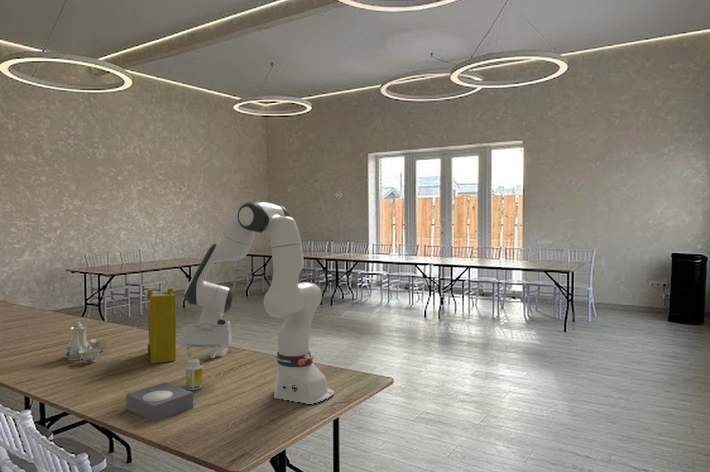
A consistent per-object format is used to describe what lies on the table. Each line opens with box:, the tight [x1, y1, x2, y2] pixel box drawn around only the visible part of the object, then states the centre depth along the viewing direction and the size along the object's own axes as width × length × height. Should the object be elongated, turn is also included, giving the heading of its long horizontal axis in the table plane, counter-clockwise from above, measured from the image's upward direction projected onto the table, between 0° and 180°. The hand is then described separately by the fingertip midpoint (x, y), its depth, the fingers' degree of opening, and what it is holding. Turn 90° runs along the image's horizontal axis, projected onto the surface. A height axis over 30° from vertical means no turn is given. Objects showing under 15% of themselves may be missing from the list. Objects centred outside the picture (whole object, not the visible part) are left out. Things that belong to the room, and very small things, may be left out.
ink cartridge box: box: [212, 320, 232, 358], centre depth 217 cm, size 9×5×15 cm, turn 168°
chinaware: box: [64, 321, 111, 364], centre depth 210 cm, size 28×17×17 cm, turn 22°
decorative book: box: [146, 286, 177, 364], centre depth 211 cm, size 20×11×30 cm, turn 26°
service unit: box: [125, 382, 194, 423], centre depth 155 cm, size 17×14×5 cm
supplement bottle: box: [185, 358, 203, 391], centre depth 173 cm, size 6×6×10 cm
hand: (199, 356), depth 179 cm, fingers open, 8 cm apart
